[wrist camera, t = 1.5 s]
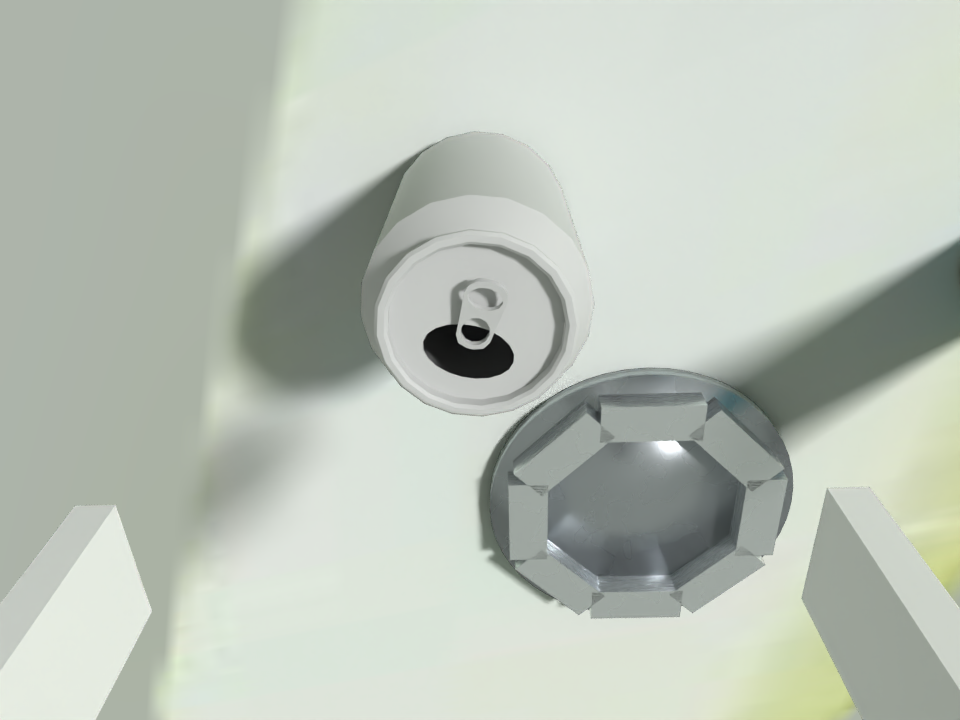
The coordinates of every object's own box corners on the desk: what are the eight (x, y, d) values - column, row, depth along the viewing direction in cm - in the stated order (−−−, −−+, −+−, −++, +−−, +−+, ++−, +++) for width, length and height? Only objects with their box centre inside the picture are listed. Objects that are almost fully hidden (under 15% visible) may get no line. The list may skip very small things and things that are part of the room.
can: (381, 270, 34) (332, 409, 23) (414, 106, 30) (376, 181, 20) (536, 308, 35) (558, 458, 24) (587, 152, 31) (637, 248, 21)
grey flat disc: (485, 371, 36) (485, 392, 35) (812, 363, 36) (829, 384, 34) (493, 605, 44) (493, 632, 42) (763, 601, 43) (775, 627, 42)
